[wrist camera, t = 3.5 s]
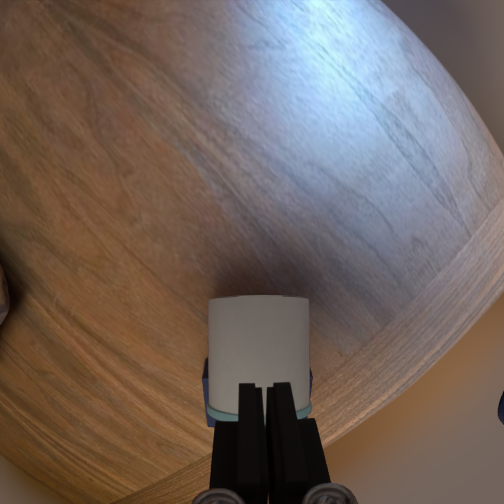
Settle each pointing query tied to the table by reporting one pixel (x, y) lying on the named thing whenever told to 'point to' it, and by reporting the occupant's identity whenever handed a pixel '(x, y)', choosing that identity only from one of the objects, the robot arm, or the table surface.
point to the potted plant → (3, 296)
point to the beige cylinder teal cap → (257, 349)
